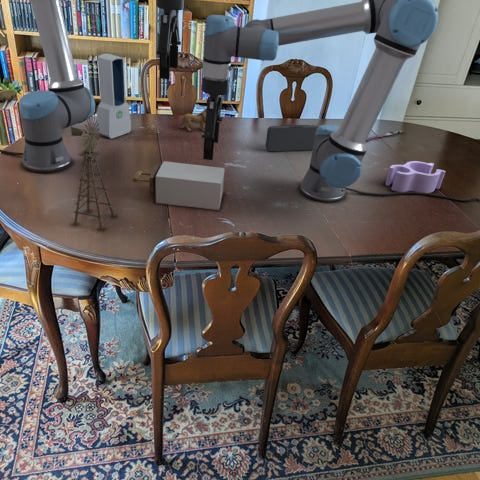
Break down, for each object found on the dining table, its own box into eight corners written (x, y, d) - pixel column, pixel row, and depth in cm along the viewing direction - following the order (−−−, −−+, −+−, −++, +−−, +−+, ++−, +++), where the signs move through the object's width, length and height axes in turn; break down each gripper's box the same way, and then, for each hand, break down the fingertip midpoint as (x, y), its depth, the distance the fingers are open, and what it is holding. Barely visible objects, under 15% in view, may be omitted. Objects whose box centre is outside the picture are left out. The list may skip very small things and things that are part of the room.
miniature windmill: (101, 230, 128) (92, 124, 112) (72, 224, 129) (59, 119, 113) (115, 214, 135) (109, 113, 119) (88, 209, 136) (78, 108, 120)
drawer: (131, 196, 144) (130, 175, 140) (139, 182, 152) (138, 161, 149) (208, 205, 144) (210, 184, 140) (212, 190, 152) (213, 170, 148)
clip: (398, 195, 164) (404, 177, 160) (379, 179, 174) (383, 162, 170) (444, 191, 170) (450, 174, 166) (423, 176, 180) (428, 160, 176)
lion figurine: (209, 126, 205) (210, 106, 200) (212, 130, 201) (214, 110, 196) (176, 127, 200) (177, 107, 195) (179, 132, 196) (180, 111, 191)
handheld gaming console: (315, 147, 196) (319, 124, 190) (317, 149, 194) (322, 126, 188) (264, 149, 189) (267, 125, 183) (266, 152, 187) (269, 127, 181)
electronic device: (109, 139, 182) (104, 59, 166) (96, 134, 185) (89, 55, 169) (132, 131, 192) (129, 55, 175) (118, 127, 195) (114, 51, 178)
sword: (399, 131, 224) (400, 128, 223) (404, 133, 222) (405, 130, 221) (355, 142, 208) (356, 139, 207) (360, 144, 206) (361, 142, 205)
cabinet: (155, 203, 144) (155, 176, 139) (163, 186, 153) (163, 161, 148) (218, 210, 144) (220, 183, 139) (222, 193, 153) (224, 168, 148)
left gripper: (175, -1, 116) (173, 85, 128) (190, -10, 137) (188, 64, 149) (145, -5, 116) (146, 82, 128) (165, -13, 137) (164, 62, 149)
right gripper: (225, 91, 117) (218, 168, 129) (233, 69, 138) (227, 137, 150) (195, 87, 117) (191, 165, 129) (208, 65, 138) (204, 134, 150)
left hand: (169, 73), depth 138 cm, fingers open, 13 cm apart
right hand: (210, 150), depth 139 cm, fingers open, 13 cm apart
